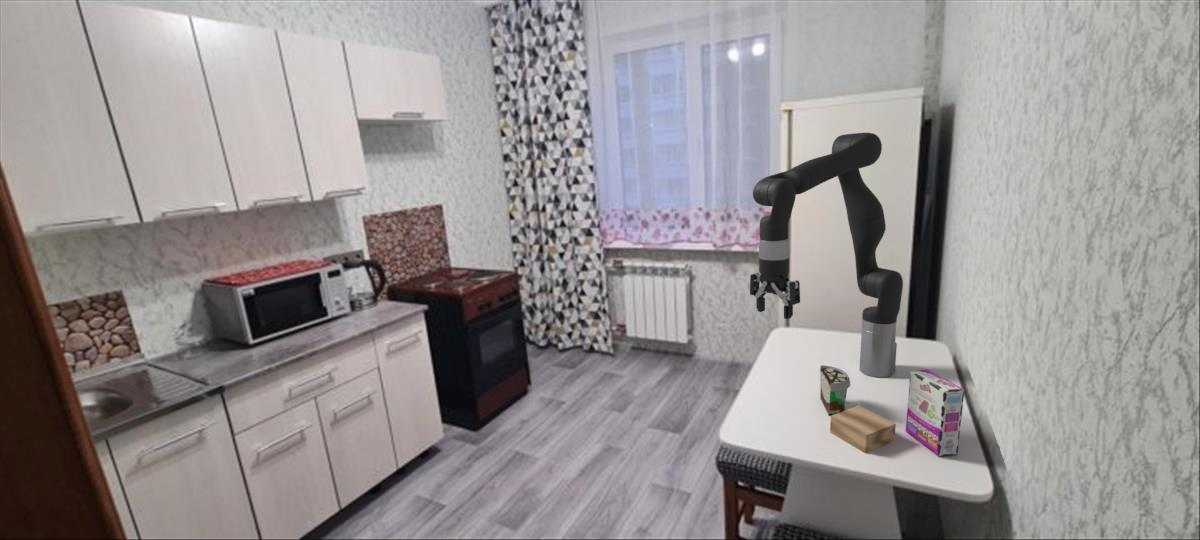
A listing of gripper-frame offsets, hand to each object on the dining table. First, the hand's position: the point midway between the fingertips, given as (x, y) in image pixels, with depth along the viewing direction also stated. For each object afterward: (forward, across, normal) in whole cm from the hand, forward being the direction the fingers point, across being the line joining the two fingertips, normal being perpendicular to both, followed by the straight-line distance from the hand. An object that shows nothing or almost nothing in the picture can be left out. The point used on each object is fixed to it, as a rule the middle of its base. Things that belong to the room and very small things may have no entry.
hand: (774, 314), depth 130 cm
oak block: (+28, -22, -4) cm, 36 cm away
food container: (+28, -11, -12) cm, 32 cm away
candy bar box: (+28, -34, -14) cm, 46 cm away
